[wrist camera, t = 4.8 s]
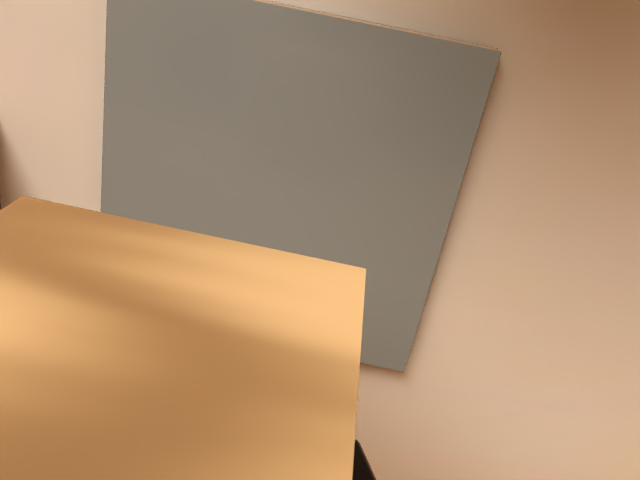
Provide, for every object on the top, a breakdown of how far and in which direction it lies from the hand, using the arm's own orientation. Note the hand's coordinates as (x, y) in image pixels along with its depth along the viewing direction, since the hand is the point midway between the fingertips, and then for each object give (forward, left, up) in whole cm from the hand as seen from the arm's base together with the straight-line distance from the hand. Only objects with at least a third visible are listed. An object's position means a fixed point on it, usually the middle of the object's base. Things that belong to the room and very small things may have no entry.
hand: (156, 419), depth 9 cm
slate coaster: (0, 0, -10) cm, 10 cm away
